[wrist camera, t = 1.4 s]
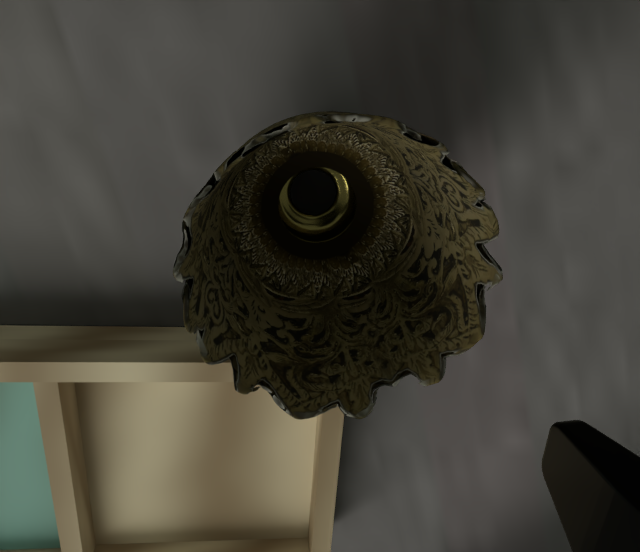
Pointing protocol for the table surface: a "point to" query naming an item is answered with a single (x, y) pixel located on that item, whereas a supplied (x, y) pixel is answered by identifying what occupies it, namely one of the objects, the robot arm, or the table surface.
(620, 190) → the table surface
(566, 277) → the table surface
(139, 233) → the table surface
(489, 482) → the table surface
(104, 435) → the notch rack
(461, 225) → the cup
